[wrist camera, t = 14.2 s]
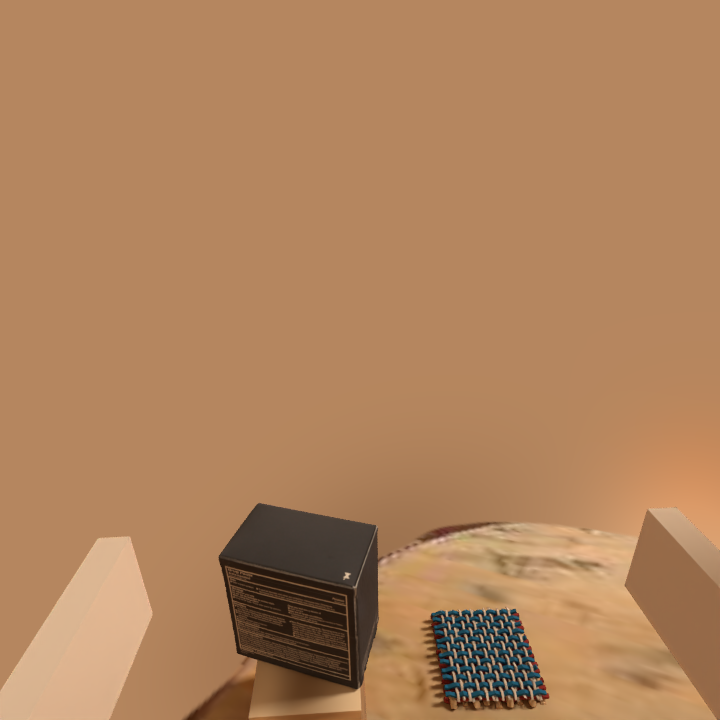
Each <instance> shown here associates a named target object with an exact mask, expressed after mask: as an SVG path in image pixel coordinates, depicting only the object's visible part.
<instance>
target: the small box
mask: <svg viewBox="0 0 720 720" xmlns="http://www.w3.org/2000/svg"><path fill="white" fill-rule="evenodd" d="M377 530H378V528H377V526H376V525H371V524H365V523H361V522H355V521H350V520H344V519H339V518H334V517H328V516H323V515H318V514H313V513H307V512H302V511H297V510H291V509H287V508H281V507H276V506H271V505H266V504H261V503H258V504H257V505H256V506H255V508H254V509H253V510H252V511H251V513H250V514H249V515H248V517H247V518H246V520H245V521H244V522H243V524H242V525H241V526H240V528H239V529H238V531H237V532H236V533H235V535H234V536H233V537H232V539H231V540H230V541H229V543H228V544H227V545H226V547H225V548H224V550H223V551H222V552H221V554H220V555H219V562H220V565H221V567H222V573H223V576H224V581H225V587H226V592H227V598H228V603H229V609H230V613H231V619H232V623H233V630H234V635H235V642H236V647H237V653H238V654H241V655H244V656H247V657H250V658H253V659H257V660H260V661H263V662H267V663H270V664H273V665H277V666H280V667H283V668H287V669H290V670H294V671H297V672H300V673H303V674H307V675H310V676H313V677H317V678H320V679H323V680H327V681H330V682H333V683H337V684H340V685H344V686H347V687H351V688H354V689H359V688H360V687H361V686H362V682H363V680H364V672H365V670H366V664H367V662H368V658H369V653H370V650H371V648H372V643H373V639H374V638H375V634H376V630H377V624H378V620H379V617H378V548H377Z"/></svg>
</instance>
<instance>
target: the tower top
mask: <svg viewBox="0 0 720 720" xmlns="http://www.w3.org/2000/svg"><path fill="white" fill-rule="evenodd" d="M248 718H249V720H362V717H361V693H360V688H359V689H354V688H351V687H347V686H344V685H340V684H337V683H333V682H330V681H327V680H323V679H320V678H317V677H313V676H310V675H307V674H303V673H300V672H297V671H294V670H290V669H287V668H283V667H280V666H277V665H273V664H270V663H267V662H263V661H260V660H258V661H257V667H256V674H255V680H254V686H253V692H252V698H251V705H250V711H249V717H248Z"/></svg>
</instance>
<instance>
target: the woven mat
mask: <svg viewBox="0 0 720 720" xmlns="http://www.w3.org/2000/svg"><path fill="white" fill-rule="evenodd" d="M487 609H488V610H487V611H485V609H484V608H483V609H482V610H483V611H482V610H479V609H477V610H476V611H474V610H471V609H469V610H470V611H468V610H464V611H462V612H461V611H460V610H458V611H459V612H458V611H454V610H450V611H449V612H447V610H445V611H442V610H440V611H438V612H436V613H432V614H431V619H433V622H434V623H432V624H431V625H432V627H434V629H433V632H434V633H435V635H434V638H435V639H436V646H437V647H438V649H440V650H437V651H436V654H438V661H440V663H441V664H439V667H440V669H441V676H443V679H442V684H446V685H444V688H443V691H444V693H446V697H445V698H444V702H445V703H448V704H450V705H451V709H456V708H457V704H458V703H460V702H462V704H463V706H468V701H472V702H473V705H474V707H475V708H480V704H481V703H480V702H479V700H483V702H484V704H485V706H489V705H490V700H493V701H495V704H496V708H497V709H503V707H502V703H501V701H503V702H507V707H511V708H512V707H514V702H516V701H517V703H518V705H523V702H522V700H528V702H529V704H530V706H531V707H536V701H535V700H534V699H538V700H539V701H540V704H546V702H545V699H549V694H548V693H546V691H545V690H546V687H545V685H543V683H544V680H543V678H542V677H541V678H540V674H539V673H540V670H539V668H538V667H537V666H538V664H537V662H535V660H534V654H532V651H531V650H532V649H531V646H529V641H528V639H527V638H526V635H525V634H523V633H524V631H523V630H524V627H523V626H521V624H522V622H521V621H519V614H518V613H517V612H516V609H513V610H511V609H508V608H507V607H506V609H501V610H498V609H497V608H496V611H495V610H492V609H489V607H487ZM453 616H454V617H453ZM448 636H449V637H448ZM476 642H477V643H476ZM521 655H522V656H521ZM462 657H463V658H462ZM488 683H489V684H488ZM532 690H533V691H532ZM500 691H501V692H500ZM447 697H449V698H447Z"/></svg>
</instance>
